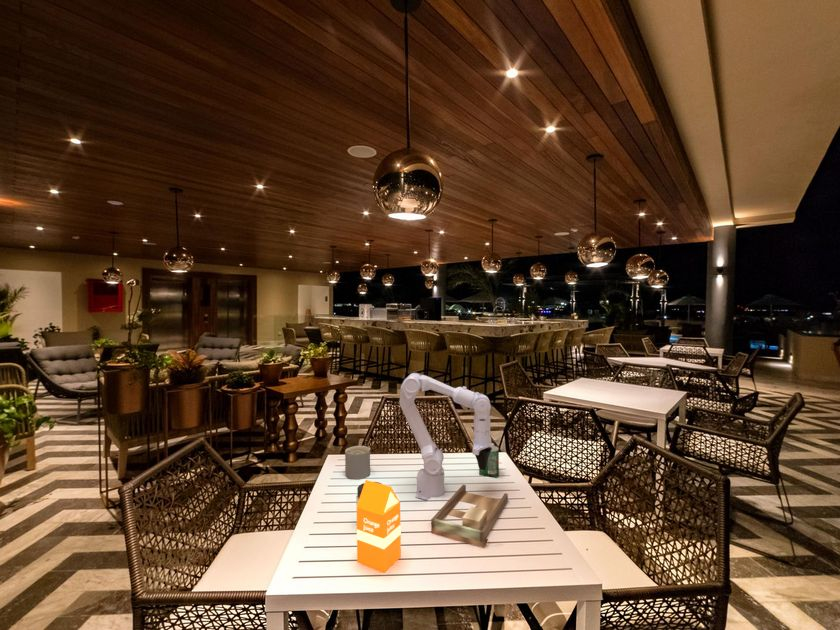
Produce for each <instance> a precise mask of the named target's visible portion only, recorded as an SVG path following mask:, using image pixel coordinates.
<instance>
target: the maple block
mask: <svg viewBox="0 0 840 630" xmlns="http://www.w3.org/2000/svg"><path fill="white" fill-rule="evenodd" d="M475 507H476V506H475ZM475 507H473V506H470V507H469V508H468V509H467V511H465V512H466V513H465V515H464V516H463V517H462V518H461V520H462V524H463V526H465V527H469V528H473V529H477V530H482V528H483V527H484V525H485V524H486V522H487V510H483V509H479V508H475Z"/></svg>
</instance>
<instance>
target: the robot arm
mask: <svg viewBox="0 0 840 630" xmlns="http://www.w3.org/2000/svg"><path fill="white" fill-rule="evenodd" d="M420 390H421V392H426V391H429V390H430V391H433V392H437V393H439V394H442V395H445V396H448V397H451V398H452V401H453V402H454V403H456V404H458V405H461V406H463V407H466V408H469V409H473V411H474V415H473V447H472V455H474V456H475V458H476V461H477V467H478V470H479V469H481V470H485V469H486V467H487V462H488V457H489V454H490V452H491V450H492V448H491V447H493V446H495V444H494V443H493V442H492V436H491V416H490V415H491V413H490V412H491V409H492V408H491V407H492V406H491V402H490V399H489V397H488V396H487V395H485V394H484V393H480V392H478V391H476V392H475V391H472V390H469V389H467V386H464V385H463V386H458V387H452V386H451V385H448V384H446V383H444V382H441V381H439V380H437V379H434V378H433V377H430V376H428V375H425V374H420V373H418V372H412V373H410V374H409V375H408V376H407V377H406V378H405V379H403V381H402V384H401V386H400V392H399V393H400V395H399V401H398V403H399V406H400V408H401V410H402V412H403V416H404V417H405V419H406V421H407V423H408V425H409V428H410V429H411V431H412V434H413V436H414V438H415V440H416V442H417V444H418V447H419V449H420V453H421V454H420V455H421V458H422V460H423V468H420V469H418V471H417V475H416V495H415V498H417V499H420V500H425V501H429V500H430V499H431V498H439V497H442V496H444V495H445V468H444V467H443V462H444V454H443V451H442V450H441V449H440V448H438V446H437V444H436V442H434V441H433V440H432V437H431V435H430V433H429V431H428V429H427V426H426V424H425V422H424V420H423V418H422V416H421V414H420V412H419V410H418V408H417V406H416V403H415V400H416V398H417V395H418V393H419V392H420Z"/></svg>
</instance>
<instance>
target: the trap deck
mask: <svg viewBox="0 0 840 630" xmlns="http://www.w3.org/2000/svg"><path fill="white" fill-rule="evenodd" d="M466 486H467V485H466V484H462V485H461V486H460V487H458V488H459V489H457V491H455V492H454V494H453V495H451V497H450V498H449V499H448V501H446V502H445V503H444V504H443V506H442V507H441V508H440V509H439V510H438V511H437V512H436V513H435V515H434V516H433V517H432V518H431V520H430V522H431V523H430V524H431V525H430V526H431V527H430V531H431V532H430V533H431V534H433V535H436V536H440V537H444V538H447V539H451V540H453V541H458V542H462V543H464V544H469V545H471V546H476V547H479V548H483V549H484V548H485V546H486V544H487V543H488V541H489V539H488V536H489V534H490V532H491V531H492V529H493V527H494V525H495V524H496V522H497V521H498V519H499V517H500V515H501V513H502V512H503V510H504V509H505V507H506V505H507V504H508V502H509V498H508V493H506V492H505V493H504V494H503V495H502V497H501V498H500V499H499V498H495V497H491V496H486V495H481V494H476V493H471V492H467V490H466V489H467V487H466ZM460 502H461V503H465V504H469V505H470V504H471V505H475V508H479V509H483V510H487V522H486V524H485V525H484V527H483V528H482V530H477V529H473V528H469V527H465V526H463V523H462V524H461V525H460V524H458V523H454V522H450V521H446V520H445V519H446V518H447V517H448V516H451V517H454V518H458V519H462V517H463V516H464V515H465V513H466V512H467V511H462V510H458V509H455V507H456V506H457V505H458V504H459V503H460Z"/></svg>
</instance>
